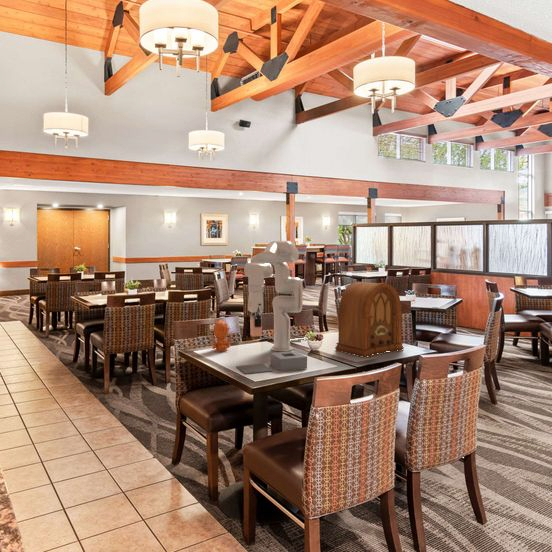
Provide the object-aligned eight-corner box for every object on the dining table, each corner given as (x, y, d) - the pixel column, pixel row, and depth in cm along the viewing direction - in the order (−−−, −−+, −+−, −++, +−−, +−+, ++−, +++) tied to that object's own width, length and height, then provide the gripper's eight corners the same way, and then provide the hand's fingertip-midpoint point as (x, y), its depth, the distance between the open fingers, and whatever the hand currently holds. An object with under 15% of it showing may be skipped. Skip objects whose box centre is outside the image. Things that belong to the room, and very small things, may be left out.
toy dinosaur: (227, 347, 285) (227, 317, 283) (233, 351, 275) (233, 320, 274) (209, 349, 280) (208, 319, 279) (215, 353, 270) (214, 321, 269)
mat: (236, 367, 239) (236, 366, 239) (262, 364, 244) (262, 363, 244) (244, 374, 226) (244, 373, 226) (272, 371, 231) (272, 370, 231)
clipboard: (283, 332, 331) (312, 338, 308) (283, 334, 332) (312, 341, 308) (260, 335, 320) (288, 342, 296) (260, 337, 320) (288, 344, 296)
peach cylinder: (249, 335, 236) (249, 314, 235) (259, 334, 237) (259, 314, 237) (253, 336, 231) (253, 316, 231) (262, 336, 233) (262, 315, 232)
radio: (364, 358, 260) (365, 284, 257) (335, 350, 279) (335, 282, 276) (403, 350, 279) (405, 282, 277) (373, 343, 298) (374, 279, 296)
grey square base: (270, 364, 245) (270, 353, 244) (295, 362, 250) (295, 350, 249) (280, 371, 232) (280, 359, 231) (307, 368, 237) (307, 356, 236)
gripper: (243, 287, 239) (243, 324, 240) (254, 290, 224) (254, 329, 225) (257, 287, 242) (257, 323, 243) (269, 290, 227) (269, 328, 228)
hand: (256, 325), depth 234 cm, fingers closed on peach cylinder, 4 cm apart
